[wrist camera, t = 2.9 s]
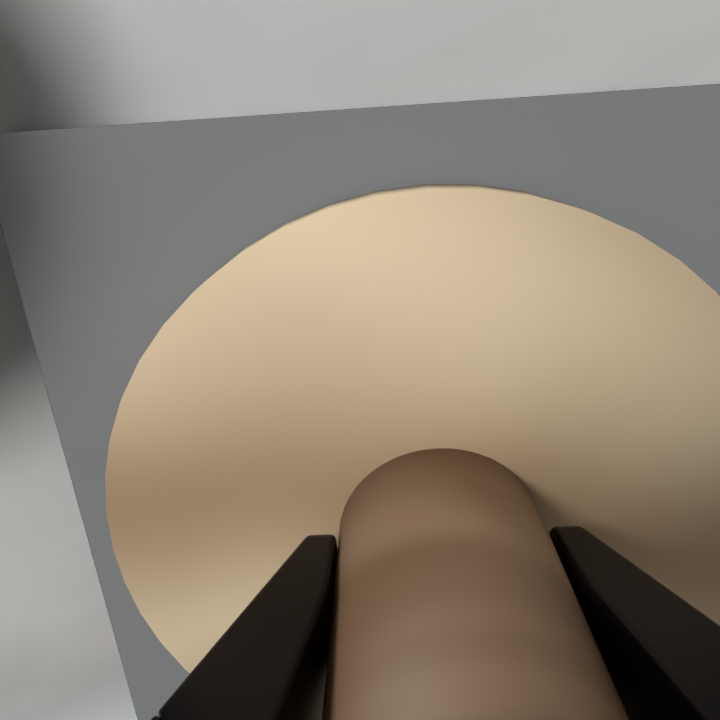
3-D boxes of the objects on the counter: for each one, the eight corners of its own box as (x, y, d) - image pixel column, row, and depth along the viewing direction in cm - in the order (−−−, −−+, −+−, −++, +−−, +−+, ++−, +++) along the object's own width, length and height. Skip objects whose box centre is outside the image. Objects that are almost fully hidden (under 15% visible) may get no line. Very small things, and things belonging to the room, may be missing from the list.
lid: (700, 706, 11) (930, 1111, 7) (188, 720, 12) (65, 1105, 7) (805, 158, 8) (1469, 195, 3) (64, 208, 8) (-349, 309, 4)
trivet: (726, 715, 12) (742, 743, 12) (157, 727, 13) (147, 754, 12) (870, 75, 8) (908, 70, 7) (2, 134, 8) (-25, 134, 8)
